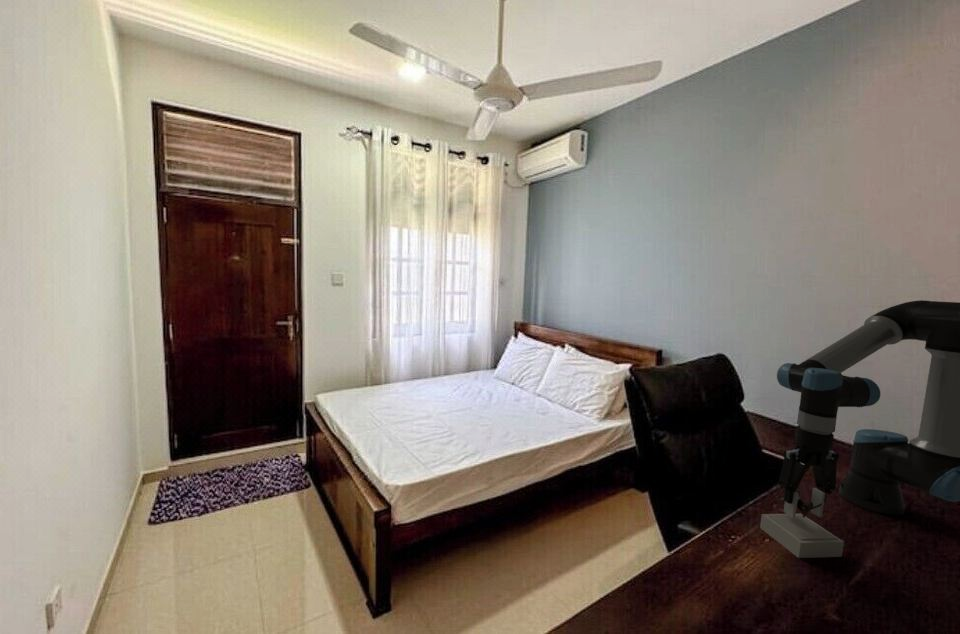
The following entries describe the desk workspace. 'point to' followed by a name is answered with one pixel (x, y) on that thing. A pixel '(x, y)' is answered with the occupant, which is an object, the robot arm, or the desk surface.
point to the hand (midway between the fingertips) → (802, 514)
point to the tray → (801, 536)
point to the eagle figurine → (802, 504)
